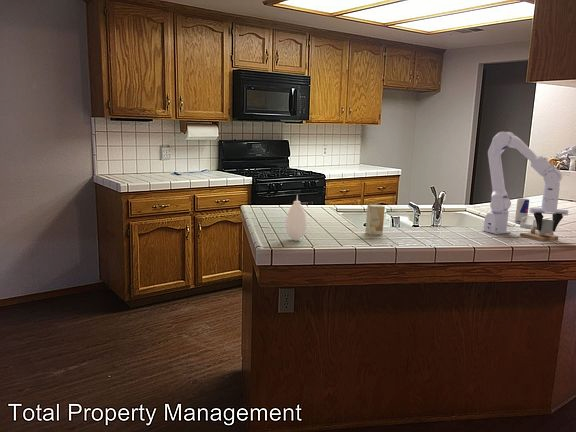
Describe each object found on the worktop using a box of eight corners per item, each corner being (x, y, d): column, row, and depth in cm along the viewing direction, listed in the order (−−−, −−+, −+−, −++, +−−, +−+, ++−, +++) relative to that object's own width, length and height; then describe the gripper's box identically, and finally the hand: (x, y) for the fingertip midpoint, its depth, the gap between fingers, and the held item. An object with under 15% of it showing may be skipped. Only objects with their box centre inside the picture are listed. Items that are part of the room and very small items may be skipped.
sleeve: (540, 235, 198) (542, 221, 197) (536, 232, 203) (537, 218, 202) (555, 236, 197) (556, 221, 196) (550, 233, 202) (551, 219, 201)
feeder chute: (525, 225, 231) (527, 215, 230) (539, 227, 226) (540, 217, 226) (519, 227, 225) (520, 217, 224) (533, 229, 220) (534, 219, 220)
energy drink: (527, 224, 233) (530, 200, 231) (516, 223, 234) (519, 199, 232) (524, 222, 238) (527, 198, 236) (513, 221, 239) (516, 197, 237)
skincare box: (369, 235, 197) (371, 206, 195) (364, 233, 201) (366, 204, 199) (383, 234, 199) (385, 206, 197) (378, 232, 203) (380, 204, 201)
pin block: (540, 241, 196) (541, 231, 195) (519, 235, 205) (520, 226, 204) (557, 239, 201) (559, 229, 200) (536, 234, 210) (538, 224, 209)
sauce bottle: (281, 239, 184) (282, 193, 181) (295, 237, 190) (297, 192, 187) (295, 243, 179) (297, 196, 176) (309, 240, 184) (311, 194, 181)
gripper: (565, 198, 200) (560, 229, 202) (528, 196, 202) (524, 227, 205) (572, 200, 193) (567, 233, 195) (534, 198, 195) (530, 231, 198)
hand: (546, 230), depth 200 cm, fingers closed on sleeve, 5 cm apart
